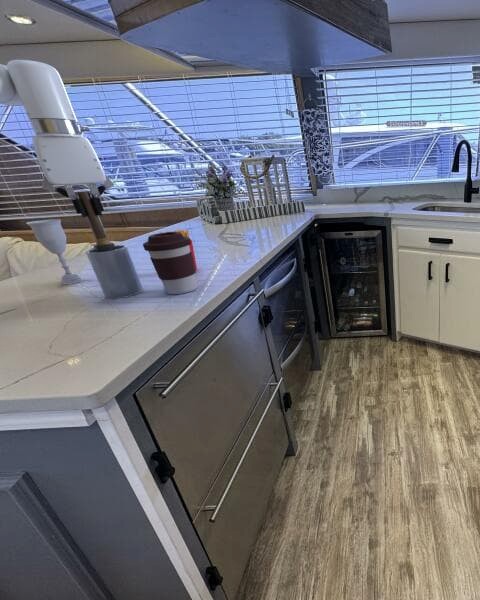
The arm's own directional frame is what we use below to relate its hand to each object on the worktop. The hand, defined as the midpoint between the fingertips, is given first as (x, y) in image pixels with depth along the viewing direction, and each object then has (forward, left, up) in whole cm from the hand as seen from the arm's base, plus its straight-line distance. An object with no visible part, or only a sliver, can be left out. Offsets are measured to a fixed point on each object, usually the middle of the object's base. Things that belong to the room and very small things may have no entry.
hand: (92, 215), depth 78 cm
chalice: (-9, +26, -21) cm, 34 cm away
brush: (0, 0, -12) cm, 12 cm away
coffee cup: (+11, -11, -21) cm, 26 cm away
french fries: (+16, +8, -21) cm, 27 cm away
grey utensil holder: (0, 0, -20) cm, 20 cm away
